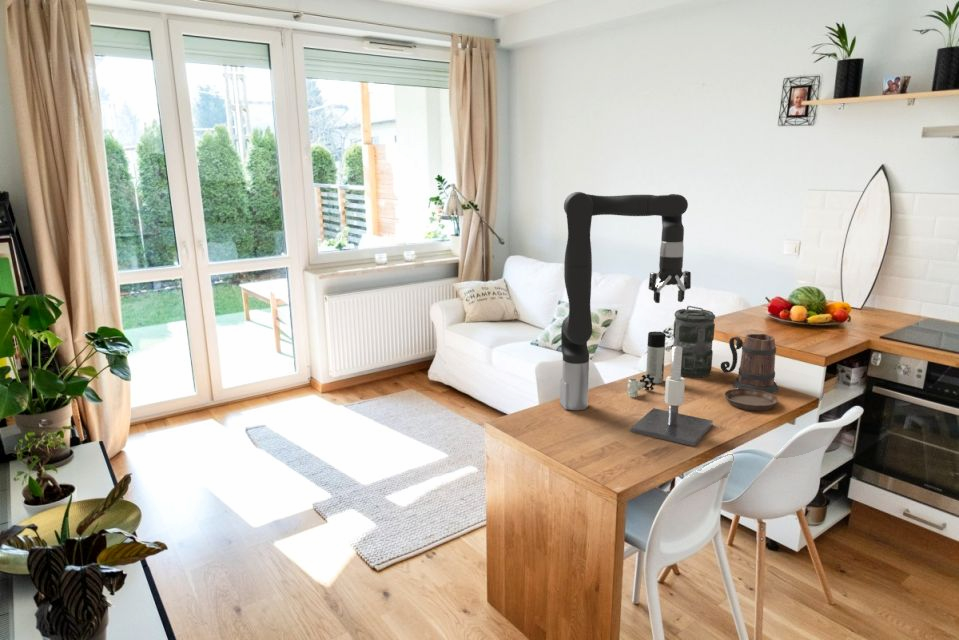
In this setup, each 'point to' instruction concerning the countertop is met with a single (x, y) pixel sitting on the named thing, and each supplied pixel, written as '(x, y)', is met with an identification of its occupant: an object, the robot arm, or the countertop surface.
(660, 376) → the spray can
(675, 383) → the sleeve
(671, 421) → the pipe stand
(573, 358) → the robot arm
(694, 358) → the canister
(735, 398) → the plant saucer
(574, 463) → the countertop surface
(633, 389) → the valve
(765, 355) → the tankard
